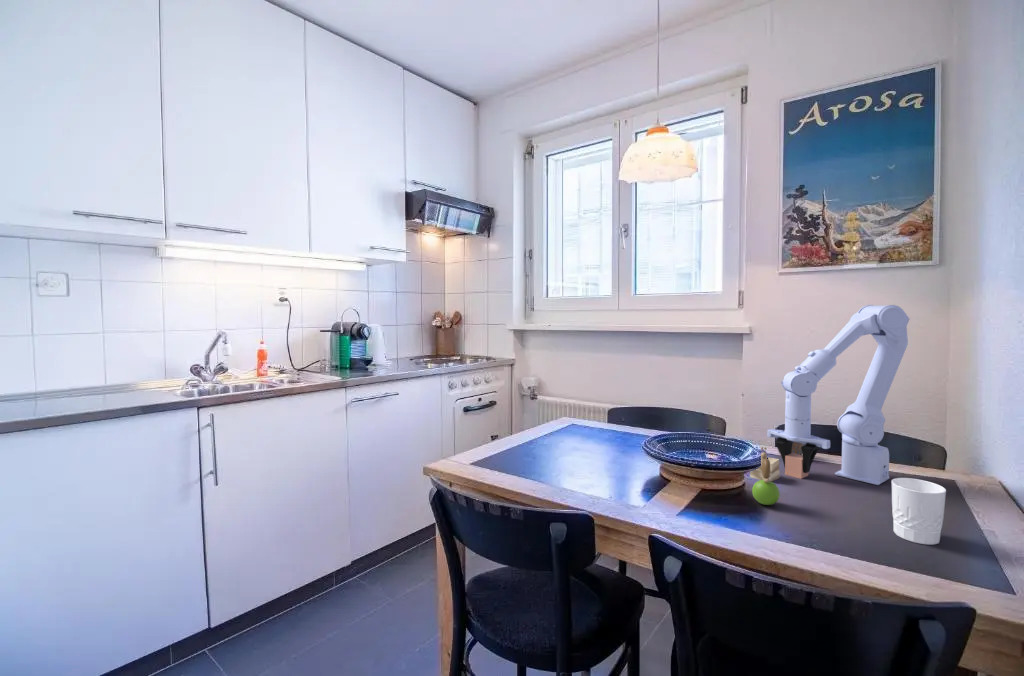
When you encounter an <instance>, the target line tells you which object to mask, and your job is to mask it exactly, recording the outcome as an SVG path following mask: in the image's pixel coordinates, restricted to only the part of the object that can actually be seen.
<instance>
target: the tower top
mask: <svg viewBox="0 0 1024 676" xmlns="http://www.w3.org/2000/svg"><path fill="white" fill-rule="evenodd" d="M767 457H768V460H769V461H770V473H771V474H772V473H774V472H775V471H777V470H778V469H779V470H780V459H779V458H775V457H769V456H767ZM756 470H758V471H761V466H760V467H759V468H758V469H756Z"/></svg>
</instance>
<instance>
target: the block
mask: <svg viewBox="0 0 1024 676" xmlns="http://www.w3.org/2000/svg"><path fill="white" fill-rule="evenodd" d="M809 473H810V472H808V473H803V454H802V455H800V454H795V453H791V454H789V455H786V456H785V468H784V475H785V476H789V477H793V478H797V479H801V480H802V479H805V478H806V477H808V476H809Z"/></svg>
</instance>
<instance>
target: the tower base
mask: <svg viewBox="0 0 1024 676" xmlns="http://www.w3.org/2000/svg"><path fill="white" fill-rule="evenodd" d="M780 474H781V473H780V468H779V469H778V470H777V471H775V472H774V473H772V474H771V473H770V477H769V479H770V481H771V482H774V481H777V480H779V479H780V478H781V477H780ZM749 478H752V479H756V480H758V481H759V480H763V478H762V471H758V470H754V471H751V472H750V471H749Z"/></svg>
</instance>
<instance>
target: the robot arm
mask: <svg viewBox="0 0 1024 676" xmlns="http://www.w3.org/2000/svg"><path fill="white" fill-rule="evenodd" d="M909 321H910V317H909V316H908V315H907V313H906V312H905V311H904V309H903V308H902V307H900V306H899V305H896V304H887V305H874V304H867V305H863V306H862V307H860V308H859V310H857V312H855V313H854V314H853V315H851V317H850V319H849V321H848V322H847V323H846V325H845V326H843V328H841V330H840V331H839V332H838V333H837V334H836V335H835V336H834V337H833V338H832V340H831V341H830V342H829V343H828V344H827V345H826V346H825V347H824V348H822V349H821V348H820V349H815V350H812V351H809V353H807V356H808V357H806V359H804V360H803V361H802V362H801V363H800V364H799V365H796V366H795V367H794V370H793V371H789V372H787V373H786V374H785V375H784V377H783V380H781V381H780V382H781V383H780V385H781V386H782V389H784V391H785V401H784V403H785V404H784V405H785V407H784V430H785V431H784V430H782V429H774V428H770V429H769V428H768V429H767V434H766V436H767V438H775V439H776V440H775V441H774V443H775V446H776V448H777V450H778V449H779V451H780V453H779V454H780V456H781V460H782V463H783V466H784V469H785V456H786V455H789V454H791V452H792V445H793V442H798V443H803V444H804V446H802V447H801V449H802V455H803V473H808V472H809V473H810V470H811V466H812V464H813V461H814V459H815V457H816V455H817V453H818V452H819V450H820V449H821V448H822V449H824V450H828V449H830V448H831V440H830V439H828V438H823V437H822V438H821V437H819V436H815V435H813V434H812V435H811V431H812V430H811V429H812V427H811V425H812V423H811V422H812V419H811V418H812V394H814V393H815V392H816V390H817V387H818V383H819V382H820V381H821V380H822V379H824V377H825V376H826V375H827V374H828V373H829V372H830V371H831V370H832V369H833V368H834V367H835V366H837V357H839V356H840V355H841V354H842V353H843V352H845V350H847V349H848V348H849V347H850V346H852V344H854V343H855V342H856V341H857V340H859V339H860V338H861V337H863V336H868V335H871V336H872V337H873V339H874V340H875V342H876V343H877V348H876V349H875V352H874V355H873V357H872V359H871V362H870V365H869V367H868V370H867V372H866V375H865V377H864V380H863V382H862V384H861V387H860V389H859V392H858V395H857V397H856V400H855V401H854V402H853V403H851V404H849V405H848V406H847V407H846V410H844V411H845V412H844V413H842V414H841V415H840V416H839V418H838V419H837V422H836V426H837V427H836V428H837V430H838V431H839V432H840V433H841V439H842V440H841V469H839V470H837V471H836V472H834V475H835V476H839V477H842V478H846V479H851V480H854V481H860V482H864V483H867V484H872V485H875V486H879V485H881V484H882V483H884V482H886V481H888V480H889V479H890V478H891V477H890V476H889V473H890V450H889V448H888V447H885V446H882V445H880V442H881V441H882V440H883V438H884V436H885V429H884V424H885V422H886V417H885V416H884V414H883V411H882V408H883V406H884V403H885V401H886V398H887V396H888V394H889V391H890V388H891V387H892V384H893V381H894V379H895V377H896V374H897V372H898V369H899V366H900V364H901V362H902V359H903V357H904V355H905V352H906V350H907V348H908V344H909V338H908V328H907V327H908V324H909ZM878 443H879V444H878ZM779 451H778V452H779Z"/></svg>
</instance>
